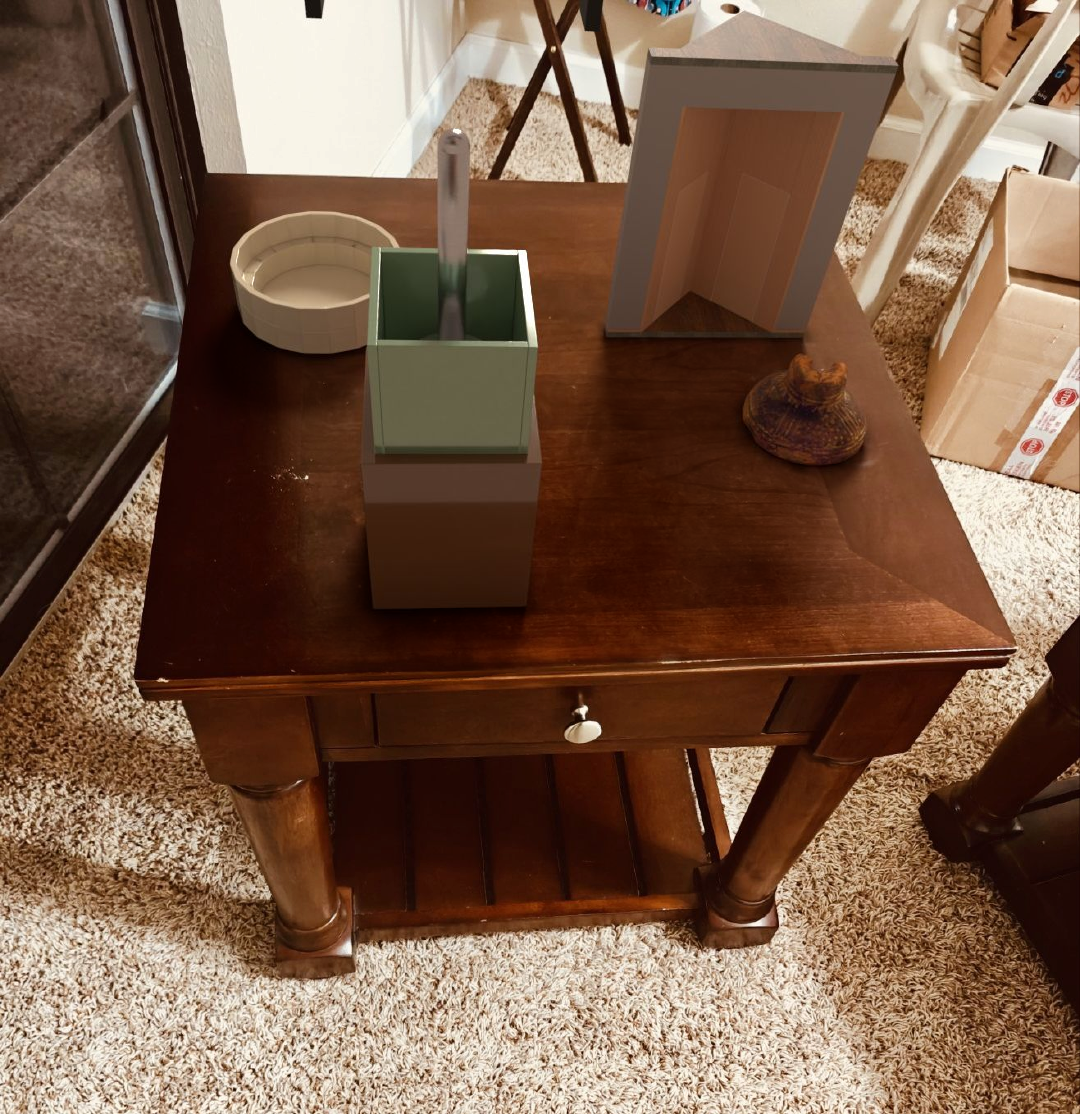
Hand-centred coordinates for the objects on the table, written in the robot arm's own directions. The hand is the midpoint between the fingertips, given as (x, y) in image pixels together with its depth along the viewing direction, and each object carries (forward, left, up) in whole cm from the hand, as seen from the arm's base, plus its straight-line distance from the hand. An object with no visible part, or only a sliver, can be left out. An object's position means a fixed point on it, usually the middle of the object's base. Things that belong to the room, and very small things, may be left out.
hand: (454, 14), depth 49 cm
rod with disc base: (0, 0, -25) cm, 25 cm away
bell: (+34, +15, -42) cm, 56 cm away
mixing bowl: (-12, +32, -42) cm, 54 cm away
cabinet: (+27, +33, -42) cm, 60 cm away
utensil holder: (0, 0, -42) cm, 42 cm away
